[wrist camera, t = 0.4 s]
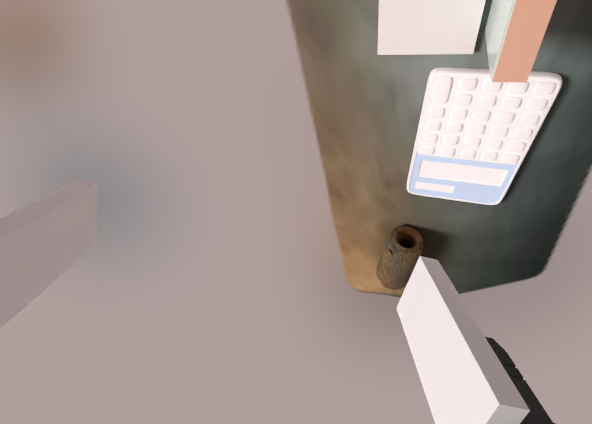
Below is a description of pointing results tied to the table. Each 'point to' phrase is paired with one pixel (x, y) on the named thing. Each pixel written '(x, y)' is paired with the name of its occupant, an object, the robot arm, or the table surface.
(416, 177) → the calculator
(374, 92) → the table surface
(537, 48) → the terracotta tile
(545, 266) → the table surface
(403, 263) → the stone weight
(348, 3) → the table surface
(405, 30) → the white rectangular slab
